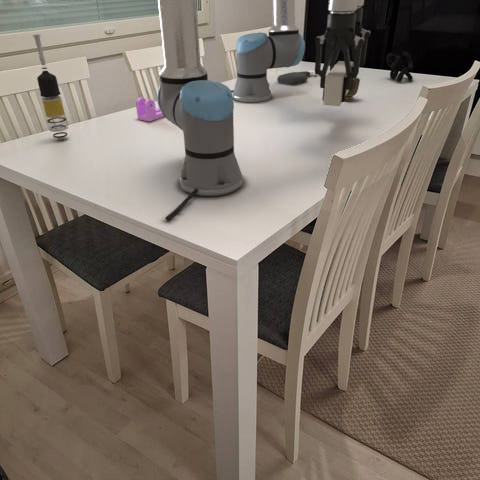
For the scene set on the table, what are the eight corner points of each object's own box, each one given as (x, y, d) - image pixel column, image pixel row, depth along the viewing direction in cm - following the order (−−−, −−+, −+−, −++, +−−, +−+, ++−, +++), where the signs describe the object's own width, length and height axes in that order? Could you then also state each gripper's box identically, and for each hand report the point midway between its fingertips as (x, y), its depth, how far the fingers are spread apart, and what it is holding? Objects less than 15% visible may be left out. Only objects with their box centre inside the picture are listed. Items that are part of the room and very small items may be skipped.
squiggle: (400, 92, 202) (376, 71, 205) (417, 76, 202) (392, 56, 205) (405, 81, 191) (380, 59, 194) (423, 64, 191) (397, 42, 194)
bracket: (148, 121, 154) (146, 101, 150) (137, 118, 157) (135, 98, 153) (175, 112, 163) (173, 93, 159) (164, 110, 166) (162, 90, 162)
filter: (71, 140, 139) (47, 35, 123) (52, 143, 137) (25, 36, 121) (69, 135, 143) (46, 33, 127) (51, 137, 141) (25, 34, 126)
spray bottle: (274, 82, 200) (304, 73, 216) (295, 86, 194) (324, 76, 210) (275, 75, 198) (304, 67, 214) (295, 78, 192) (324, 70, 208)
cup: (335, 101, 172) (337, 79, 168) (341, 96, 178) (343, 75, 173) (354, 103, 169) (357, 81, 165) (359, 98, 175) (362, 77, 170)
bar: (339, 106, 128) (342, 77, 124) (323, 105, 130) (325, 76, 126) (350, 87, 147) (353, 61, 143) (336, 86, 148) (338, 61, 144)
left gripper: (377, 11, 120) (366, 99, 132) (312, 10, 125) (306, 94, 138) (375, 14, 114) (363, 105, 126) (306, 13, 119) (301, 101, 132)
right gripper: (382, 6, 132) (371, 87, 145) (322, 5, 138) (316, 83, 150) (380, 8, 126) (368, 92, 139) (317, 8, 132) (312, 89, 144)
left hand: (333, 99), depth 132 cm, fingers closed on bar, 5 cm apart
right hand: (341, 87), depth 144 cm, fingers closed on bar, 5 cm apart
